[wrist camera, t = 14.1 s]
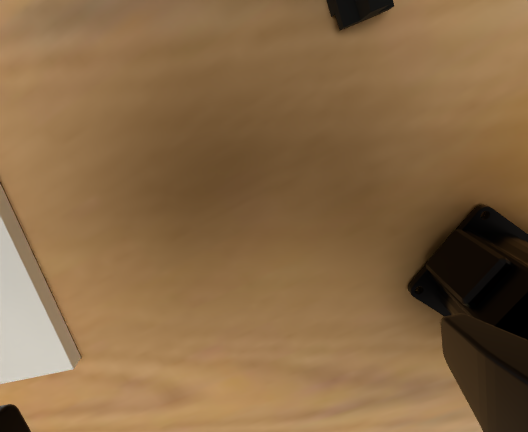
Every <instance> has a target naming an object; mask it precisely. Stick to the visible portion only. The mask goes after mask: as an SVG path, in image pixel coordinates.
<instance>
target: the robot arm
mask: <svg viewBox="0 0 528 432" xmlns="http://www.w3.org/2000/svg"><path fill="white" fill-rule="evenodd" d="M484 211H485V215H484V216H483V217H481V214H482V212H484ZM417 287H420V289H419V290H417V291H415V289H416V288H417ZM408 290H409V292H410V293H411V295H412V296H413V297H415V298H416V299H418V300H420V301H421V302H423V303H424V304H426V305H427V306H429V307H431V308H432V309H434V310H435V311H437V312H439V313H440V314H442V315H443V316H445V317H443V318H442V319H441V334H442V346H443V354H444V357H445V360H446V362H447V364H448V366H449V368H450V370H451V372H452V374H453V376H454V377H455V379H456V381H457V383H458V385H459V387H460V389H461V390H462V392H463V394H464V396H465V398H466V400H467V402H468V403H469V405H470V407H471V409H472V411H473V413H474V415H475V417H476V418H477V420H478V422H479V424H480V426H481V428H482V430H483V432H528V234H527V233H525V232H524V231H522V230H521V229H520V228H518V227H517V226H516V225H514V224H513V223H512V222H510V221H509V220H507V219H506V218H505V217H503V216H502V215H501V214H499V213H498V212H496V211H495V210H494V209H492V208H491V207H488V206H486V205H479V206H477V207H476V208H474V210H473V211H472V212H471V213H470V214H469V215H468V216H467V218H466V219H465V220H464V221H463V222H462V223H461V225H460V226H459V227H458V228H457V229H456V230H455V231H453V233H452V234H451V235H450V236H449V237H448V238H447V239H446V241H445V242H444V243H443V244H442V245H441V246H440V248H439V249H438V250H437V251H436V252H435V253H434V254H433V256H432V257H431V258H430V259H429V260H428V261H427V263H426V265H425V266H424V267H423V268H422V270H421V271H420V272H419V273H418V274H417V275H416V276H415V278H414V279H413V280H412V281H411V282H410V284H409V285H408ZM0 432H31V431H30V429H29V427H28V425H27V423H26V422H25V420H24V418H23V416H22V415H21V413H20V411H19V409H18V408H17V407H16V406H15V405H12V404H8V405H3V406H0Z"/></svg>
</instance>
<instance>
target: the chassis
mask: <svg viewBox="0 0 528 432" xmlns="http://www.w3.org/2000/svg"><path fill="white" fill-rule="evenodd" d="M80 359H81V356H80V354H79V352H78V350H77V348H76V346H75V343H74V341H73V339H72V337H71V335H70V333H69V330H68V328H67V326H66V324H65V322H64V320H63V317H62V315H61V313H60V311H59V309H58V307H57V305H56V302H55V300H54V298H53V296H52V294H51V292H50V289H49V287H48V285H47V283H46V281H45V279H44V276H43V274H42V272H41V270H40V268H39V266H38V264H37V261H36V259H35V257H34V255H33V253H32V251H31V248H30V246H29V244H28V242H27V240H26V238H25V235H24V233H23V231H22V229H21V227H20V225H19V222H18V220H17V218H16V216H15V214H14V212H13V210H12V207H11V205H10V203H9V201H8V199H7V197H6V194H5V192H4V190H3V188H2V186H1V184H0V384H3V383H8V382H13V381H18V380H23V379H28V378H33V377H38V376H42V375H47V374H52V373H57V372H62V371H67V370H72V369H74V368H75V366H76V365H77V363H78V362H79V360H80Z"/></svg>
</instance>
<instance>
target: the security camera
mask: <svg viewBox="0 0 528 432" xmlns="http://www.w3.org/2000/svg"><path fill="white" fill-rule="evenodd" d="M327 4H328V7H329V10H330V14H331V17H332V16H334V15H335V16H336V19H337V23H338V26H339V29H340V30H342V29H345V28H347V27H349V26H352V25H354V24H357V23H359V22H361V21H364V20H366V19H368V18H371V17H373V16H376V15H378V14H380V13H383V12H385V11H388V10H389V9H391V8H392V7H394V3H393V0H327Z"/></svg>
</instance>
